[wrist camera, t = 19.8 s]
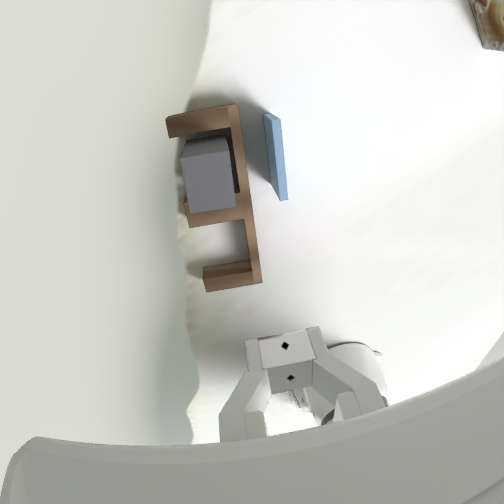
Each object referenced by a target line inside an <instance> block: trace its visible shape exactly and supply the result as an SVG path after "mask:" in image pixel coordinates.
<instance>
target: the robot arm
mask: <svg viewBox="0 0 504 504" xmlns="http://www.w3.org/2000/svg"><path fill="white" fill-rule="evenodd" d="M258 342H259V343H258ZM245 348H246V356H247V364H248V372H245V373H244V375H243V377H242V378H241V380H240V382H239V383H238V385H237V386H236V388H235V390H234V391H233V393H232V395H231V396H230V398H229V399H228V401H227V403H226V404H225V406H224V407H223V409H222V410H221V412H220V414H219V431H220V443H208V444H194V445H174V446H128V445H107V444H93V443H82V442H73V441H65V440H58V439H51V438H45V437H33V438H32V439H30V440H29V441H28V442H26V444H24V445H23V446H22V447H21V448H20V449H19V450H18V451H17V452H16V453H15V454H14V455H13V457H12V458H11V460H10V463H9V465H8V468H7V471H6V475H5V478H4V482H3V486H2V491H1V496H0V504H504V355H503V356H502V357H499V358H498V359H496V360H494V361H492V362H490V363H489V364H487V365H485V366H483V367H481V368H479V369H477V370H475V371H473V372H471V373H469V374H467V375H465V376H462V377H460V378H458V379H456V380H454V381H452V382H449V383H447V384H445V385H443V386H440V387H438V388H436V389H433V390H431V391H428V392H426V393H423V394H421V395H418V396H416V397H413V398H410V399H408V400H405V401H402V402H400V403H397V404H394V405H391V406H390V405H389V403H388V402H387V400H386V398H385V395H386V394H387V391H388V385H387V382H386V380H385V377H384V374H383V372H382V369H381V367H380V364H381V362H382V360H383V356H382V354H381V353H378V352H373V351H372V350H371V349H370V348H369V347H367V346H365V345H363V344H358V343H349V344H343V345H338V346H335V347H332V348H330V349H327V347H326V344H325V341H324V339H323V336H322V333H321V331H320V328H319V327H318V326H317V327H313V328H308V329H303V330H298V331H293V332H289V333H284V334H280V335H274V336H267V337H261V338H255V339H249V340H245ZM289 390H293V391H294V394H295V396H296V398H297V400H298V402H299V404H300V406H301V408H302V410H303V412H310V413H313V416H314V419H315V421H316V424H317V425H319V426H317V427H313V428H309V429H304V430H299V431H294V432H289V433H284V434H278V435H273V436H269V435H268V431H267V427H266V423H265V419H264V415H263V414H264V411H265V409H266V407H267V405H268V403H269V400H270V398H271V396H272V394H275V393H280V392H285V391H289Z"/></svg>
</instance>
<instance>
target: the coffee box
mask: <svg viewBox="0 0 504 504" xmlns="http://www.w3.org/2000/svg"><path fill="white" fill-rule="evenodd" d="M469 2H470V4H471V7H472V10H473V13H474V16H475V20H476V23H477V26H478V30H479V33H480V37H481V41H482V45H483V48H484V49H489V50H497V51H504V0H469Z"/></svg>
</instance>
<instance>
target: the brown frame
mask: <svg viewBox="0 0 504 504" xmlns="http://www.w3.org/2000/svg"><path fill="white" fill-rule="evenodd" d="M263 120H264V128H265V136H266V145H267V153H268V162H269V171H270V180H271V185H272V187H273V189H274V191H275V192H276V194H277V196H278V198H279V200H280V201H282V200H288V193H287V182H286V171H285V160H284V149H283V139H282V130H281V120H280V119H279V118H278V117H276V116H274V115H273V114H271V113H268V114H263ZM166 125H167V130H168V135H169V138H174V137H179V136H183V135H188V134H193V133H199V132H204V131H210V130H215V129H221V128H227V127H230V133H231V139H232V146H233V153H234V159H235V166H236V172H237V179H238V185H235V186H234V193H235V200H236V207H231V208H224V209H217V210H210V211H204V212H197V213H191V214H190V209H189V203H188V198H187V194H185V198H184V207H185V212H186V216H187V220H188V224H189V228H194V227H199V226H205V225H210V224H216V223H222V222H227V221H233V220H239V219H244V224H245V231H246V237H247V244H248V250H249V257H250V260H246V261H240V262H234V263H228V264H223V265H217V266H211V267H205V268H203V282H204V286H205V289H206V292H212V291H218V290H224V289H230V288H236V287H242V286H248V285H253V284H259V283H262V275H261V268H260V260H259V253H258V246H257V238H256V231H255V224H254V216H253V209H252V202H251V195H250V187H249V180H248V173H247V166H246V159H245V152H244V144H243V137H242V130H241V123H240V116H239V109H238V105H237V104H231V105H225V106H218V107H213V108H207V109H201V110H196V111H191V112H186V113H181V114H177V115H172V116H168V117H167V118H166Z"/></svg>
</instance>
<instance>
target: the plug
mask: <svg viewBox="0 0 504 504" xmlns="http://www.w3.org/2000/svg"><path fill="white" fill-rule="evenodd" d="M180 161H181V166H182V172H183V177H184V183H185V188H186V193H187V198H188V203H189V209H190V214H191V213H197V212H204V211H210V210H217V209H224V208H231V207H236V200H235V193H234V185H233V177H232V169H231V161H230V153H229V148H228V144H227V140H226V136H225V134H222V135H215V136H208V137H202V138H195V139H189V140H187V142H186V144H185V147H184V149H183V152H182V155H181V157H180Z"/></svg>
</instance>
